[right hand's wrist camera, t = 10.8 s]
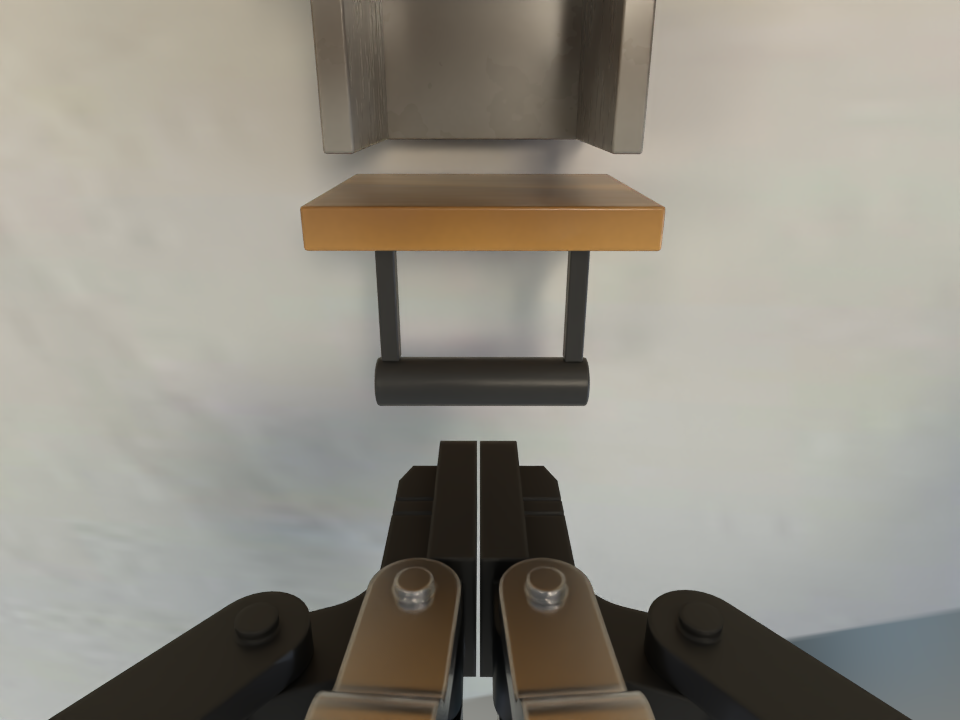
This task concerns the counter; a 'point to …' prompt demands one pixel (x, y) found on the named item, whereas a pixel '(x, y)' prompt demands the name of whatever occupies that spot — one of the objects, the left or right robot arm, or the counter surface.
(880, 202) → the counter surface
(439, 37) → the drawer
